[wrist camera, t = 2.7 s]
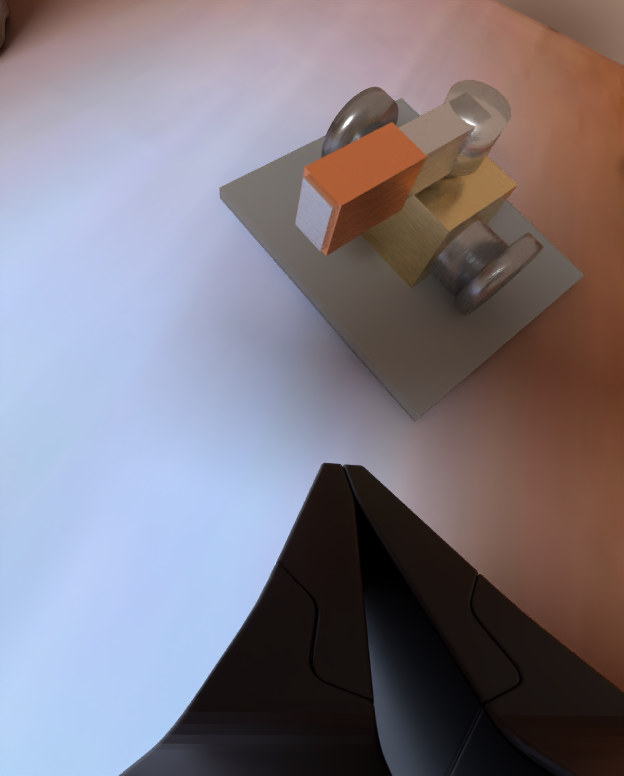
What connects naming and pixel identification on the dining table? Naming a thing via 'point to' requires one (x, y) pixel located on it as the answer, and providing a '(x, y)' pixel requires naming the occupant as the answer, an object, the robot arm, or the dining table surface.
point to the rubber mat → (395, 287)
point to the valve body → (440, 217)
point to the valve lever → (398, 165)
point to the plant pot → (3, 20)
